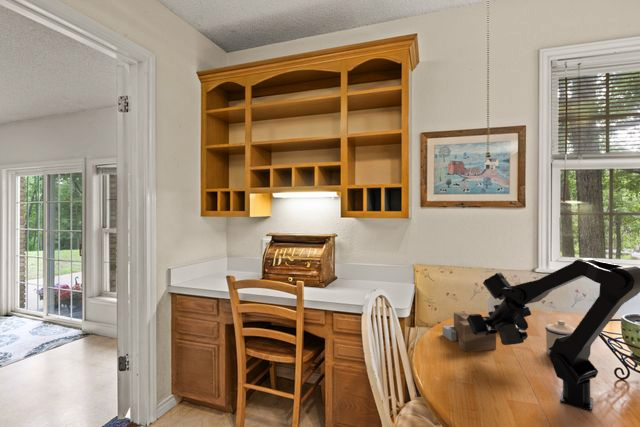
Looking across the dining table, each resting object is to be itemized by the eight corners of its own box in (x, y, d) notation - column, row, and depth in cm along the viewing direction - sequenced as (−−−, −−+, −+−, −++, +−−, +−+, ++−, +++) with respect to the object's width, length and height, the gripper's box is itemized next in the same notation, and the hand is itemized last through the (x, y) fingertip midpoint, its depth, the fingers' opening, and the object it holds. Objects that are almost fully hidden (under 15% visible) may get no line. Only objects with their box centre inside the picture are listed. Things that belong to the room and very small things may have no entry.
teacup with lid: (574, 363, 109) (573, 327, 109) (541, 354, 116) (541, 320, 116) (583, 352, 117) (583, 319, 117) (552, 345, 124) (552, 313, 123)
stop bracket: (477, 338, 131) (477, 329, 131) (451, 341, 129) (451, 332, 129) (468, 332, 137) (467, 324, 137) (442, 334, 136) (442, 326, 136)
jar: (485, 326, 144) (484, 291, 144) (488, 320, 152) (488, 286, 152) (516, 331, 138) (516, 294, 138) (518, 324, 146) (517, 289, 146)
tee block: (496, 349, 121) (495, 322, 121) (465, 351, 119) (464, 325, 119) (472, 334, 135) (472, 311, 135) (444, 337, 133) (444, 313, 133)
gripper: (493, 338, 99) (471, 360, 110) (549, 333, 102) (523, 355, 113) (476, 304, 107) (457, 327, 118) (529, 300, 110) (506, 323, 121)
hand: (486, 334), depth 117 cm, fingers closed
